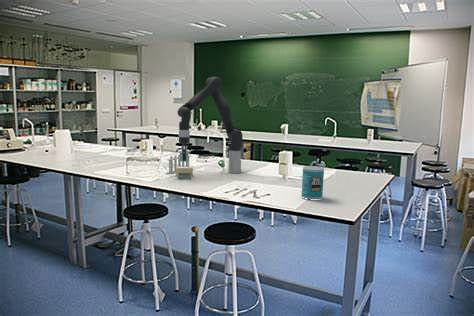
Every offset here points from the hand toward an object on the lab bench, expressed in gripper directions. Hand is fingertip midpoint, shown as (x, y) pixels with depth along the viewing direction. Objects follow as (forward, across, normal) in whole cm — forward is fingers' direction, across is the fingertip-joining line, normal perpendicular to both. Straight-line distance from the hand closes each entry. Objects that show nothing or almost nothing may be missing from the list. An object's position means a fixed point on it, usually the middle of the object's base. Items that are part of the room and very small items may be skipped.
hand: (184, 160), depth 261 cm
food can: (+13, -58, -74) cm, 95 cm away
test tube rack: (+13, +23, +3) cm, 26 cm away
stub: (+1, 0, 0) cm, 1 cm away
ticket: (+13, +7, 0) cm, 15 cm away
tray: (+13, 0, 0) cm, 13 cm away
